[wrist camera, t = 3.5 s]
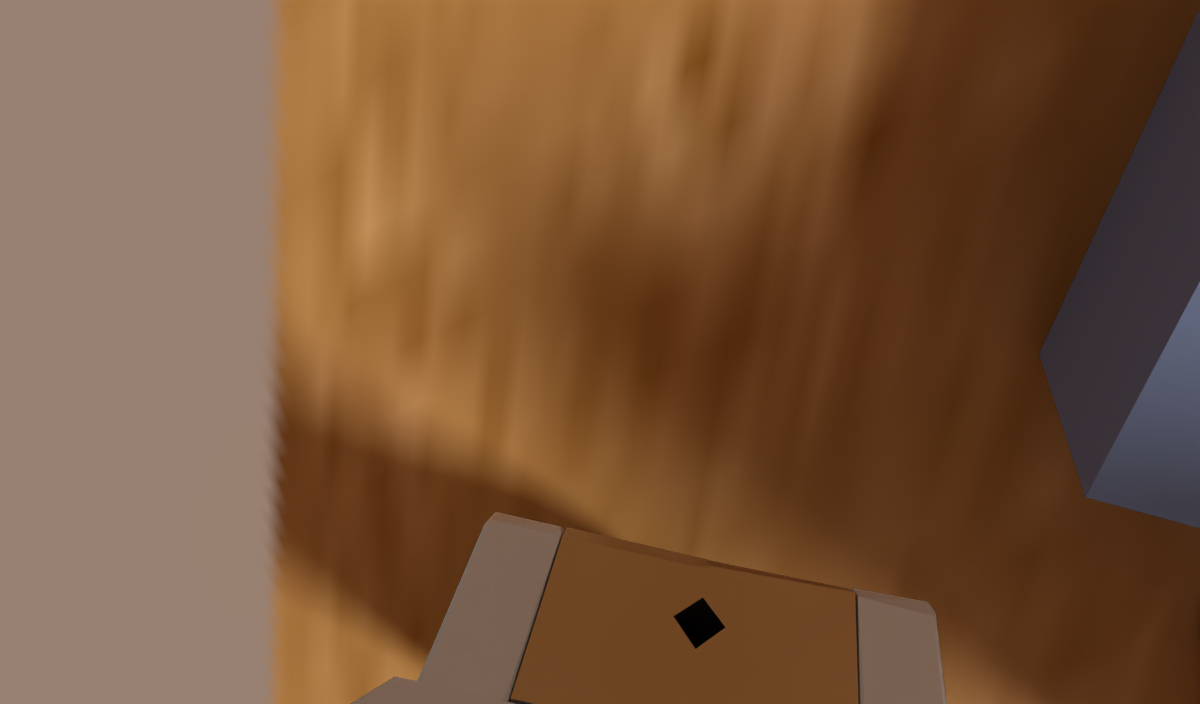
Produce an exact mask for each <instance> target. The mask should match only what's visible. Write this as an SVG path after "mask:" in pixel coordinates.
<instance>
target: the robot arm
mask: <svg viewBox="0 0 1200 704" xmlns="http://www.w3.org/2000/svg"><path fill="white" fill-rule="evenodd" d="M351 704H947V701H946V693H945V685H944V677H943V669H942V661H941V653H940V645H939V637H938V629H937V621H936V613H935V612H934V610H933V609H932V607H931V606H930V604H929V603H928V602H927V601H921V600H916V599H910V598H905V597H900V596H894V595H889V594H884V593H878V592H873V591H868V590H862V589H857V588H853V589H852V591H851V590H849V589H847V588H842V587H837V586H832V585H827V584H823V583H818V582H813V581H808V580H803V579H798V578H793V577H788V576H783V575H778V574H773V573H768V572H764V571H759V570H754V569H749V568H744V567H739V566H734V565H729V564H724V563H719V562H714V561H710V560H707V559H703V558H698V557H694V556H690V555H686V554H681V553H677V552H673V551H668V550H664V549H660V548H655V547H651V546H647V545H643V544H638V543H634V542H630V541H625V540H621V539H617V538H613V537H608V536H604V535H600V534H595V533H591V532H587V531H582V530H578V529H574V528H570V527H567V529H566V530H565V529H564V528H562V527H561V526H557V525H552V524H548V523H543V522H539V521H535V520H530V519H526V518H521V517H517V516H512V515H508V514H504V513H499V512H495V513H494V514H493V515H492V516H491V517H490V518H489V519H488V520H487V522H486V523H485V524H484V526H483V528H482V531H481V533H480V535H479V538H478V540H477V542H476V545H475V547H474V549H473V552H472V554H471V556H470V559H469V561H468V563H467V566H466V568H465V570H464V573H463V575H462V578H461V580H460V582H459V585H458V587H457V589H456V592H455V594H454V596H453V599H452V601H451V603H450V606H449V608H448V610H447V613H446V615H445V617H444V620H443V622H442V625H441V627H440V629H439V632H438V634H437V636H436V639H435V641H434V643H433V646H432V648H431V650H430V653H429V655H428V657H427V660H426V662H425V664H424V667H423V669H422V672H421V674H420V676H419V679H418V681H414V680H409V679H404V678H399V677H393V678H392V679H390V680H388V681H387V682H385V683H383V684H382V685H380V686H379V687H377V688H375V689H374V690H372V691H370V692H369V693H367V694H366V695H364V696H362V697H361V698H359V699H358V700H356V701H354V702H353V703H351Z"/></svg>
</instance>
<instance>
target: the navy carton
mask: <svg viewBox="0 0 1200 704" xmlns="http://www.w3.org/2000/svg"><path fill="white" fill-rule="evenodd" d="M1039 356H1040V359H1041V362H1042V365H1043V368H1044V371H1045V374H1046V377H1047V380H1048V384H1049V387H1050V390H1051V393H1052V396H1053V399H1054V402H1055V405H1056V408H1057V411H1058V414H1059V417H1060V420H1061V424H1062V427H1063V430H1064V433H1065V436H1066V439H1067V442H1068V445H1069V448H1070V451H1071V454H1072V457H1073V461H1074V464H1075V467H1076V470H1077V473H1078V476H1079V479H1080V482H1081V485H1082V488H1083V491H1084V494H1085V497H1086V498H1090V499H1093V500H1097V501H1101V502H1104V503H1108V504H1112V505H1116V506H1119V507H1123V508H1127V509H1130V510H1134V511H1138V512H1141V513H1145V514H1149V515H1152V516H1156V517H1160V518H1163V519H1167V520H1171V521H1175V522H1178V523H1182V524H1186V525H1189V526H1193V527H1197V528H1200V9H1199V11H1198V13H1197V15H1196V18H1195V20H1194V22H1193V24H1192V26H1191V28H1190V30H1189V33H1188V35H1187V37H1186V39H1185V41H1184V43H1183V45H1182V48H1181V50H1180V52H1179V54H1178V56H1177V58H1176V61H1175V63H1174V65H1173V67H1172V69H1171V71H1170V73H1169V76H1168V78H1167V80H1166V82H1165V84H1164V86H1163V88H1162V91H1161V93H1160V95H1159V97H1158V99H1157V101H1156V104H1155V106H1154V108H1153V110H1152V112H1151V114H1150V116H1149V119H1148V121H1147V123H1146V125H1145V127H1144V129H1143V131H1142V134H1141V136H1140V138H1139V140H1138V142H1137V144H1136V147H1135V149H1134V151H1133V153H1132V155H1131V157H1130V159H1129V162H1128V164H1127V166H1126V168H1125V170H1124V172H1123V174H1122V177H1121V179H1120V181H1119V183H1118V185H1117V187H1116V190H1115V192H1114V194H1113V196H1112V198H1111V200H1110V202H1109V205H1108V207H1107V209H1106V211H1105V213H1104V215H1103V217H1102V220H1101V222H1100V224H1099V226H1098V228H1097V230H1096V233H1095V235H1094V237H1093V239H1092V241H1091V243H1090V245H1089V248H1088V250H1087V252H1086V254H1085V256H1084V258H1083V260H1082V263H1081V265H1080V267H1079V269H1078V271H1077V273H1076V275H1075V278H1074V280H1073V282H1072V284H1071V286H1070V288H1069V291H1068V293H1067V295H1066V297H1065V299H1064V301H1063V303H1062V306H1061V308H1060V310H1059V312H1058V314H1057V316H1056V318H1055V321H1054V323H1053V325H1052V327H1051V329H1050V331H1049V334H1048V336H1047V338H1046V340H1045V342H1044V344H1043V346H1042V349H1041V351H1040V353H1039Z"/></svg>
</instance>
